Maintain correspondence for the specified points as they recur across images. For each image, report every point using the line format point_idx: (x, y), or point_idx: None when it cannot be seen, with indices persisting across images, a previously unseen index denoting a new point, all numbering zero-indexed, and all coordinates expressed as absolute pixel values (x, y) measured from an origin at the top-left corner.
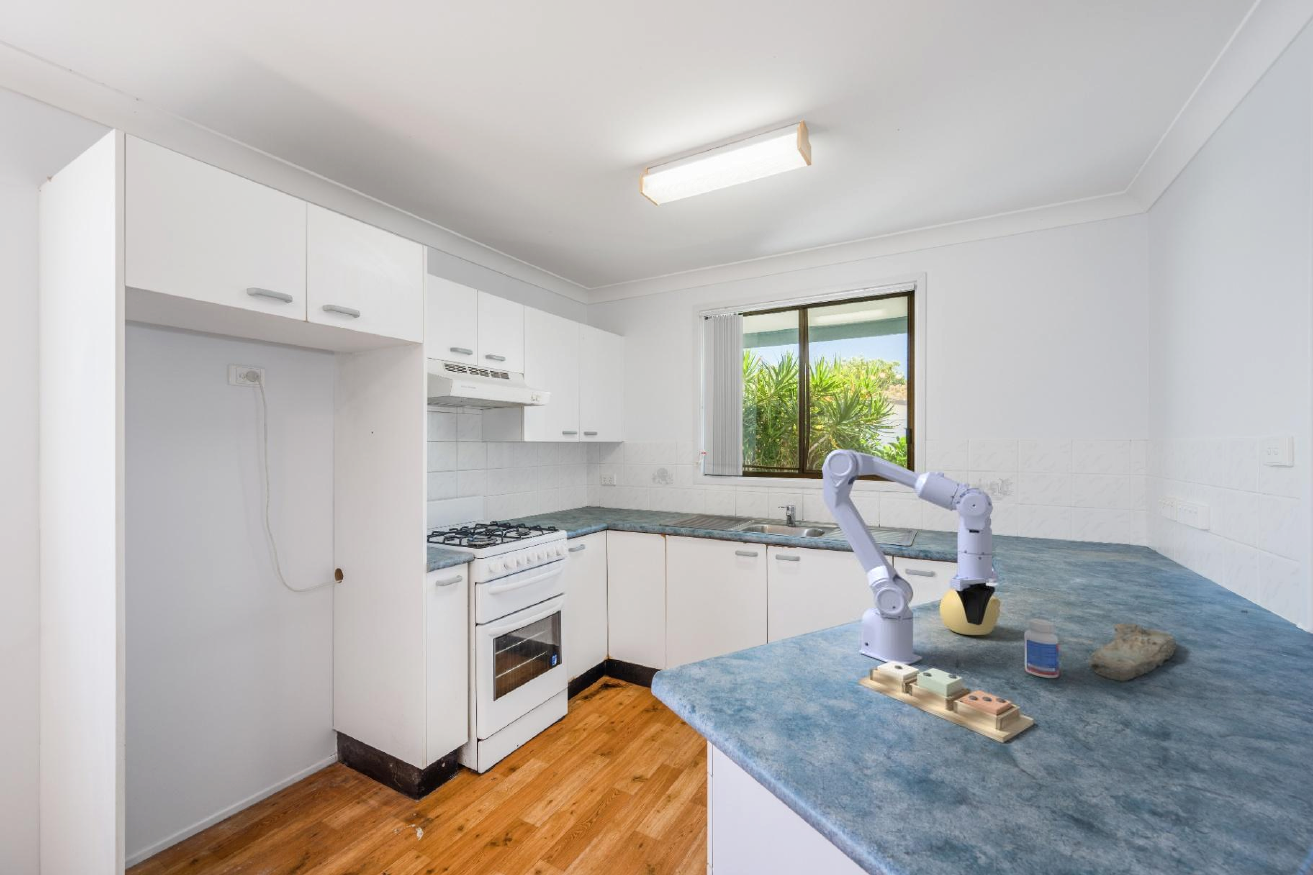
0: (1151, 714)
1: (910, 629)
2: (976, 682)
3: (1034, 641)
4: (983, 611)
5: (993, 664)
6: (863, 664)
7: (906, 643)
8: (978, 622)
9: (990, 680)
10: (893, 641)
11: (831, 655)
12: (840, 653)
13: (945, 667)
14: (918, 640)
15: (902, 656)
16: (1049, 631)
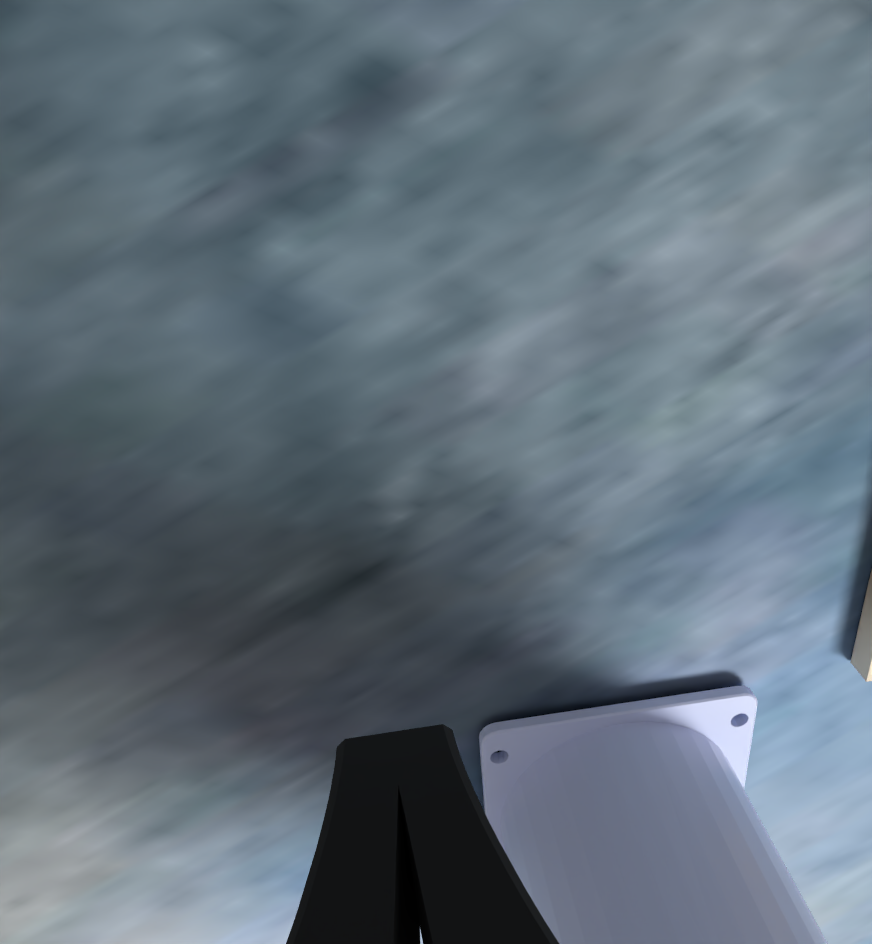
0: None
1: (707, 935)
2: (546, 324)
3: None
4: (380, 913)
5: (18, 494)
6: (861, 776)
7: (709, 827)
8: (456, 755)
9: (396, 297)
10: (783, 865)
11: (866, 892)
12: None
13: (465, 591)
14: (165, 926)
15: (698, 753)
16: None
